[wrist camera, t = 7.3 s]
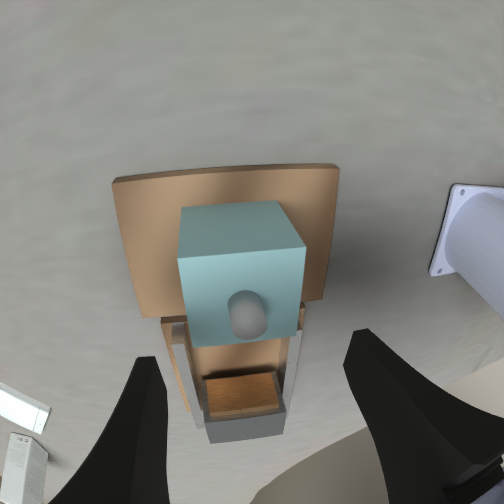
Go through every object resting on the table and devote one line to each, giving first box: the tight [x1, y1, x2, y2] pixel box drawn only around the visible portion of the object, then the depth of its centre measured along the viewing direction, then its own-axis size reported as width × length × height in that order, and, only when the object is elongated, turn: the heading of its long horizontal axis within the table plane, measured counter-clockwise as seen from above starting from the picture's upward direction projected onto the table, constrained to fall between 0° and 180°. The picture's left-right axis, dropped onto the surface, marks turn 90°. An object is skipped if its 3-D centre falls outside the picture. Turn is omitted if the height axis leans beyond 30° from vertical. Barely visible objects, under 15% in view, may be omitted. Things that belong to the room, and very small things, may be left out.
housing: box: [177, 200, 306, 348], centre depth 15 cm, size 5×5×6 cm
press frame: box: [112, 164, 339, 429], centre depth 21 cm, size 12×22×3 cm, turn 0°
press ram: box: [201, 371, 287, 444], centre depth 22 cm, size 6×5×4 cm
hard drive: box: [0, 382, 50, 434], centre depth 23 cm, size 2×8×12 cm
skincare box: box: [0, 433, 48, 504], centre depth 25 cm, size 6×4×12 cm
